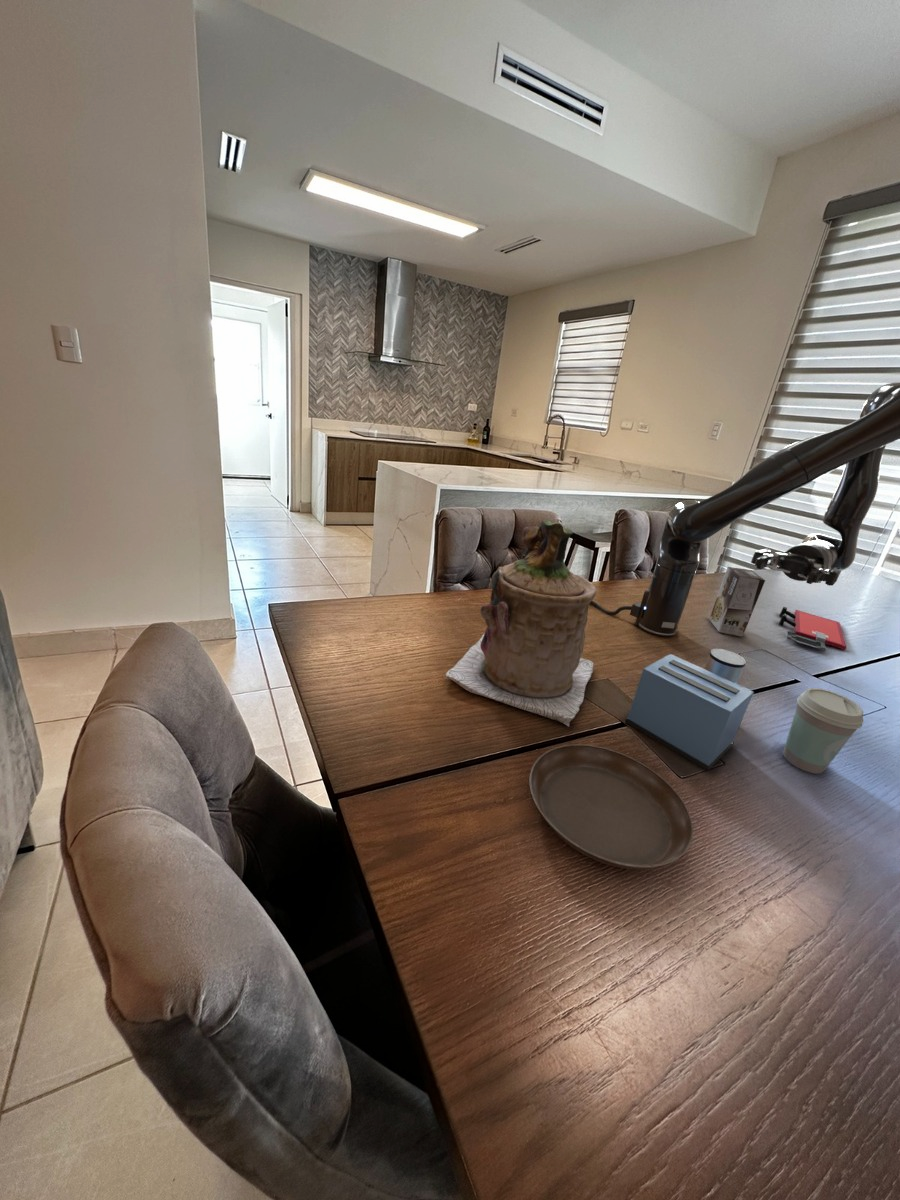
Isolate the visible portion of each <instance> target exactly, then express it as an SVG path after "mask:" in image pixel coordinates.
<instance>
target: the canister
mask: <svg viewBox="0 0 900 1200" xmlns="http://www.w3.org/2000/svg"><path fill="white" fill-rule="evenodd" d="M746 664H747V660H746V659H745V658H744V657H743V656H742V655H739V654H738V653H735V652H734V651H730V650H727V649H723V648H713V649H711V650H710V651H709V655H708V658H707V661H706V663H705V666H704V668H703V669H705V670H707V671H709V672H712V673H714V674H716V675H718V676H720V677H723V678H725V679H727V680H729V681H731V682H734V683H736V684H738V682H739V679H740V677H741V675H742V672H743V669H744V668H745V666H746Z"/></svg>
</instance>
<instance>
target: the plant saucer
mask: <svg viewBox="0 0 900 1200" xmlns="http://www.w3.org/2000/svg"><path fill="white" fill-rule="evenodd" d="M529 789H530V793H531V797H532V799H533V802H534V804H535V807H536V809H537V810H538V812H539V814H540V815H541V817H542V818H543V820H544V821H545V823H546V824H547V825H548V827H549V828H550V829H551V830H552V831H553V832H554V833H555V835H557V836H558V837H559V838H560V839H561V840H562V841H563V842H564V843H566V845H568V846H569V847H571V848H572V849H574V850H575V851H576V852H578V853H580V854H582V855H583V856H585V857H587V858H589V859H591V860H594V861H596V862H599V863H600V864H604V865H607V866H611V867H615V868H618V869H619V868H620V869H626V870H650V869H656V868H660V867H664V866H667V865H669V864H671V863H673V862H675V861H677V860H679V859H680V858H681V857H683V856H684V855H685V854H686V853H687V851H688V850H689V849H690V847H691V844H692V842H693V838H694V823H693V819H692V816H691V813H690V811H689V808H688V807H687V805H686V803H685V802H684V800H683V799H682V796H680V794H679V793H678V792H677V791H676V790H675V788H674V787H673V786H672V785H671V784H670V783H669V782H668V781H667V780H666V779H664V777H663V776H661V775H660V774H659V773H657V772H656V771H654V770H653V769H652V768H650V767H649V766H647V765H645V764H644V763H642V762H641V761H639V760H637V759H635V758H633V757H631V756H629V755H626V754H624V753H622V752H619V751H617V750H614V749H610V748H606V747H602V746H598V745H592V744H583V743H581V744H565V745H560V746H556V747H553V748H551V749H549V750H547V751H545V752H543V753H542V754H541V755H540V756H539V757H538V758H537V759H536V760H535V762H534V763H533V764H532V767H531V770H530V773H529Z"/></svg>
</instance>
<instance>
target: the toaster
mask: <svg viewBox="0 0 900 1200" xmlns="http://www.w3.org/2000/svg"><path fill="white" fill-rule="evenodd" d="M754 694H755V692H754V691H753V690H752V689H749V688H746V687H745V686H743V685H740V684H738V683H737V684H736V683H734V682H731V681H729V680H727V679H725V678H723V677H720V676H718V675H716V674H714V673H712V672H709V671H707V670H705V669H704V668H703V667H701V666H698V665H696V664H694V663H692V662H690V661H687V660H685V659H683V658H681V657H679V656H676V655H675V654H673V653H669V654H667V655H665V656H663V657H662V658H660V659H658V660H656V661H655V662H652V663H651V664H649V665H647V666H645V667H643V668H642V672H641V675H640V678H639V681H638V684H637V688H636V690H635V694H634V697H633V700H632V704H631V707H630V709H629V714H628V716H627V717H626V718H625V720H624V722H625V723H627V724H628V725H630V726H631V727H633V728H635V729H636V730H638V731H640V732H641V733H643V734H645V735H647V736H648V737H650V738H651V739H654V741H657V742H658V743H660V744H661V745H663V746H665V747H666V748H669V749H670V750H672V751H673V752H674V753H677V754H678V755H680V756H682V757H684V758H685V759H687V760H689V761H690V762H692V763H694V764H695V765H697V766H698V767H700V768H702V769H704V770H705V771H707V772H708V771H709V770H710V769H711V768H712V767H714V765H715V764H716V763H717V762H718V761H720V759H721V758H722V757H723V756H724V755H725V754H727V752H728V751H729V750H730V749H731V748H733V746H734V744H735V742H734V739H735V737H736V735H737V733H738V730H739V728H740V726H741V723H742V721H743V718H744V716H745V714H746V712H747V710H748V707H749V705H750V703H751V700H752V698H753V695H754Z"/></svg>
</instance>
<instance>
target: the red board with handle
mask: <svg viewBox="0 0 900 1200" xmlns="http://www.w3.org/2000/svg"><path fill="white" fill-rule="evenodd" d="M778 616H779V617H780V620H779V622H778V625H779V626H782V627H783V626H784V623H786V624H788V625H789V626H791V627H793V628H794V632H793V631H787V637H786V639H787V640H791V641H793V642H796V643H799V644H803V645H806V646H809V647H812V648H816V649H819V650H822V651H827V650H826V645H828V646H832V647H835V648H839V649H841V650H844V651H845V650H846V649H847V647H848V646H847V643H846V639H845V636H844V633H843V629H842V626H841V622H840V621H836V620H833V619H830V618H826V617H823V616H820V615H816V614H812V613H810V612H809V613H808V612H805V611H801V610H798V609H795V610H794V613H792V612H791V611H789V610H788V607H786V606H783V607H782V609H781V611H780V613H779V615H778ZM788 617H790V618H791V619H794V621H793V620H791V619H789V618H788Z"/></svg>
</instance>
